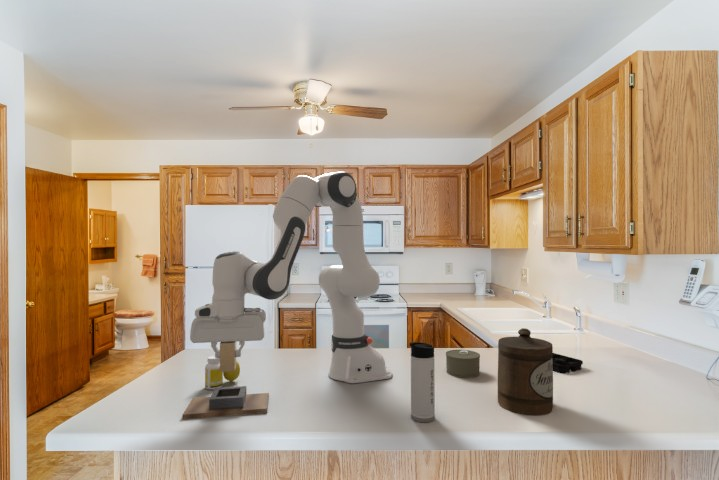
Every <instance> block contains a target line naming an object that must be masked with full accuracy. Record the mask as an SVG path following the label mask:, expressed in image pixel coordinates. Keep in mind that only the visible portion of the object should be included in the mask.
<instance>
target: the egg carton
mask: <svg viewBox="0 0 719 480" xmlns="http://www.w3.org/2000/svg"><path fill="white" fill-rule="evenodd" d="M552 361H553V373H554V372H555V373H556V374H568V373H570V372H571V371H572V372H577V371H580V370H581V369H582V365H583V364H584V361H583V360H581V359H578V358H574V357H571V356H566V355H563V354H559V353H555V352H553V355H552Z"/></svg>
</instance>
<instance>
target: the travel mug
mask: <svg viewBox="0 0 719 480" xmlns="http://www.w3.org/2000/svg"><path fill="white" fill-rule="evenodd" d="M409 347H410V418H411V419H412V420H413V421H414V422H417V423H431V422H433V421H434V420H435V418H436V415H435V414H436V412H435V411H436V409H435V405H436V404H435V394H436V393H435V391H436V389H435V347H434V346H433V345H432V344H429V343H426V342H419V341H418V342H417V341H415V342H414V341H413V342H412V341H411V342H409Z"/></svg>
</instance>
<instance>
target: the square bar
mask: <svg viewBox="0 0 719 480" xmlns="http://www.w3.org/2000/svg"><path fill="white" fill-rule="evenodd" d="M219 350H220V372H231V371H235V369H236V361H237V357H235V351H236V350H237V341H234V342H219Z"/></svg>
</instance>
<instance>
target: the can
mask: <svg viewBox="0 0 719 480" xmlns="http://www.w3.org/2000/svg"><path fill="white" fill-rule="evenodd" d="M480 357H481V355H480V353H479V352H476V351H473V350H469V349H452V350H448V351H446V352H445V359H446V362H445V365H446V366H445V367H446V370H445V372H446V373H447V374H448V375H449V376H451V377H454V378H455V377H456V378H461V379H462V378H463V379H471V378H472V379H473V378H477V377H478V376H480V367H481V366H480V361H481V360H480Z"/></svg>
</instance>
